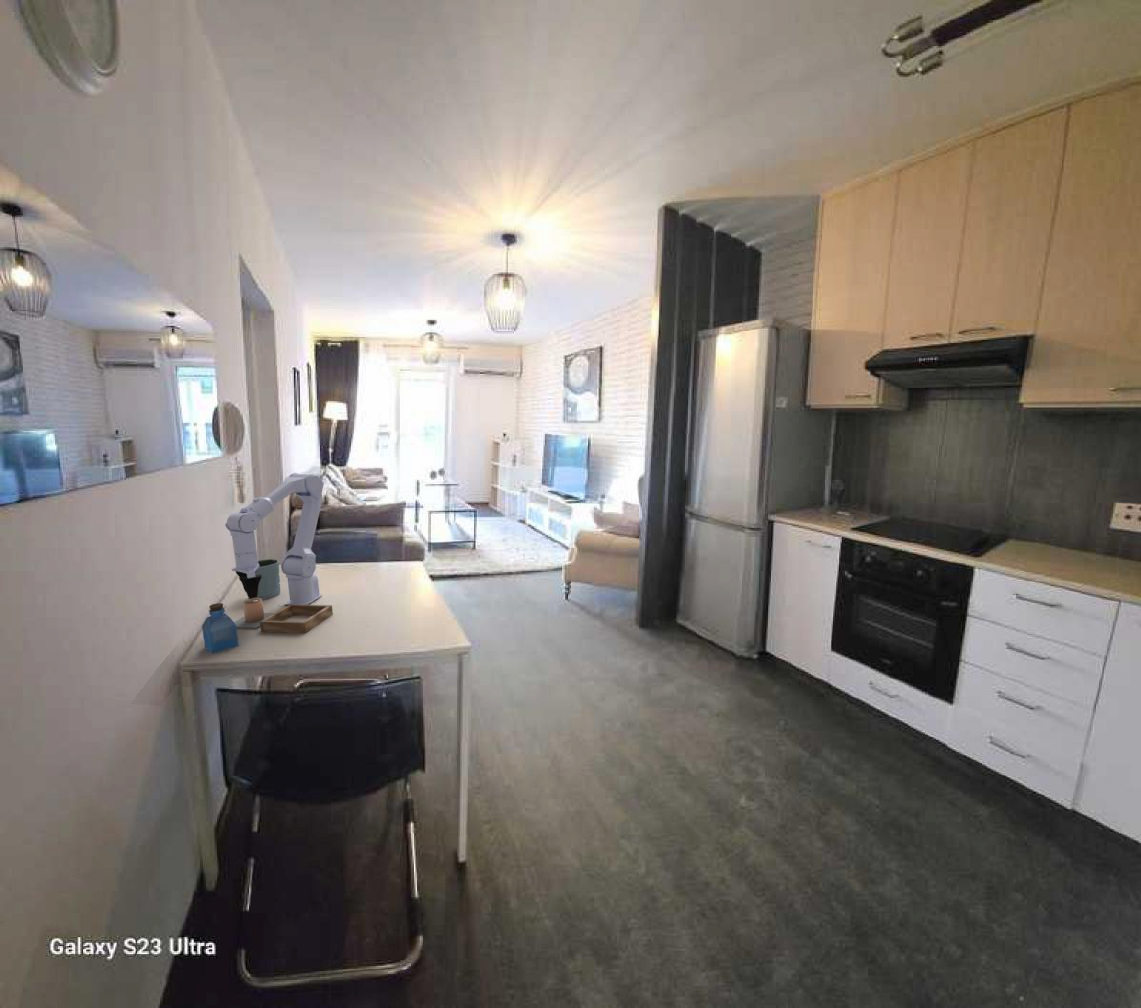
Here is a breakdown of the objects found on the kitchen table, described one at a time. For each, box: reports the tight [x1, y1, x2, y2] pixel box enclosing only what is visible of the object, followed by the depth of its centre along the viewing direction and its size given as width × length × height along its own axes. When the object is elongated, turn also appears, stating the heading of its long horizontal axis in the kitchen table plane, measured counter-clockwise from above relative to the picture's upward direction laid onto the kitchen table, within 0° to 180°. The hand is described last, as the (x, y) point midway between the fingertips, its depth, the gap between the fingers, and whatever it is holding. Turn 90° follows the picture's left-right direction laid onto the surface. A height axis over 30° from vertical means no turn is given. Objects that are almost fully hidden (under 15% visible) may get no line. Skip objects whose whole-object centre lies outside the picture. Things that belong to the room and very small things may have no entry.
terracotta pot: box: [242, 598, 265, 623], centre depth 154 cm, size 5×5×6 cm
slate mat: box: [233, 612, 275, 630], centre depth 154 cm, size 11×10×1 cm
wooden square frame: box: [259, 604, 334, 634], centre depth 153 cm, size 14×14×3 cm
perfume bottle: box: [201, 602, 239, 654], centre depth 136 cm, size 6×6×12 cm
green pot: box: [255, 558, 281, 600], centre depth 176 cm, size 10×10×12 cm
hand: (251, 594), depth 153 cm, fingers open, 7 cm apart
